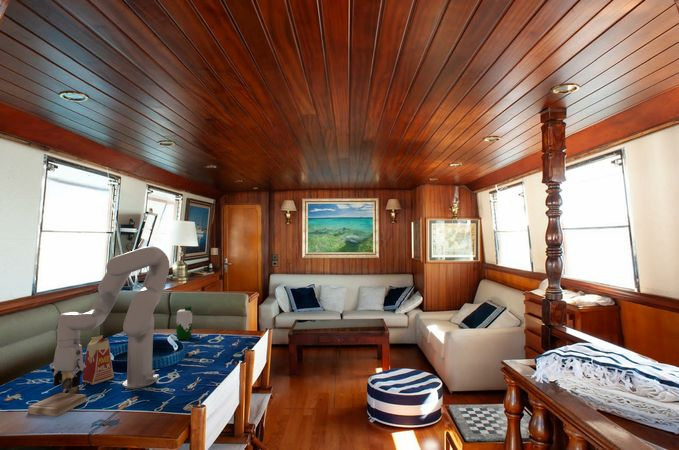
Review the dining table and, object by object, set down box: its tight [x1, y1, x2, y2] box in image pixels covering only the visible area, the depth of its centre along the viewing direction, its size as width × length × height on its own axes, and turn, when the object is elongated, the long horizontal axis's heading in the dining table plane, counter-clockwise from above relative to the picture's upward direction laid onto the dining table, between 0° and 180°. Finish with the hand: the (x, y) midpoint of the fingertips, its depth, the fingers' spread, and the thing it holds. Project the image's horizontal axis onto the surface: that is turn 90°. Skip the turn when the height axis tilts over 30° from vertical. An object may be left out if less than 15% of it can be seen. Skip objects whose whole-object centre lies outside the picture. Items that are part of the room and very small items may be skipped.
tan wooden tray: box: [27, 392, 87, 417], centre depth 132 cm, size 12×12×3 cm
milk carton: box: [82, 334, 115, 386], centre depth 159 cm, size 9×9×20 cm
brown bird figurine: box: [59, 377, 80, 394], centre depth 145 cm, size 8×7×9 cm
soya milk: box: [176, 305, 193, 340], centre depth 228 cm, size 9×9×20 cm
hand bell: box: [52, 371, 74, 382], centre depth 161 cm, size 8×8×16 cm
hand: (66, 385), depth 146 cm, fingers open, 8 cm apart
